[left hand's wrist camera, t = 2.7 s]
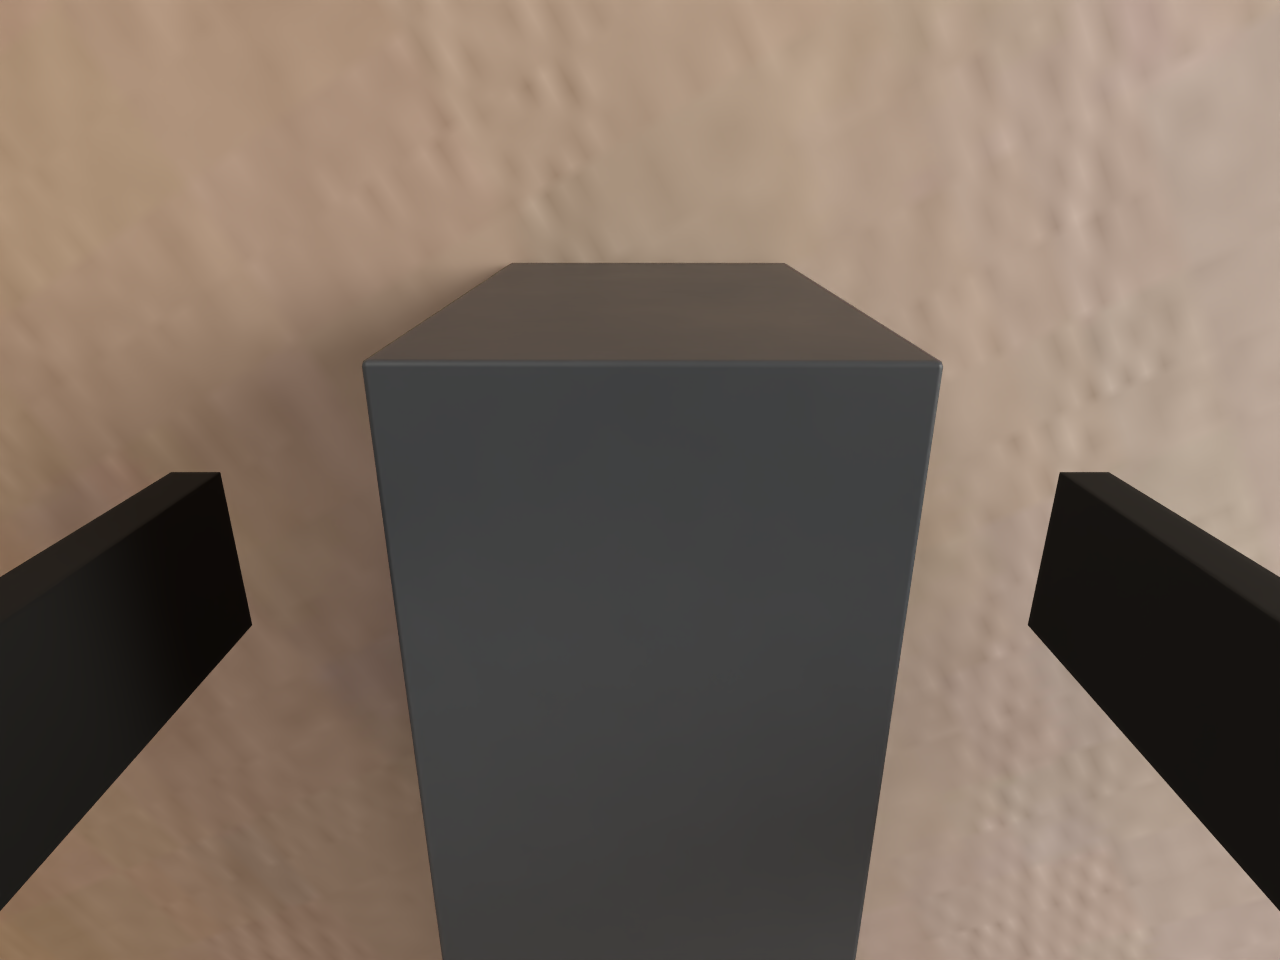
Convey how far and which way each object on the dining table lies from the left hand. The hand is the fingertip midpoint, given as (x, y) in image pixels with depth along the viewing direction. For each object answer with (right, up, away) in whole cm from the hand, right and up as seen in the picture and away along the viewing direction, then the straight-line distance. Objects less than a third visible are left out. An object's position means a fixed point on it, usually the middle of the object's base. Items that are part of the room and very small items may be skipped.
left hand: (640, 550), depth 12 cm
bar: (0, -6, +6) cm, 9 cm away
